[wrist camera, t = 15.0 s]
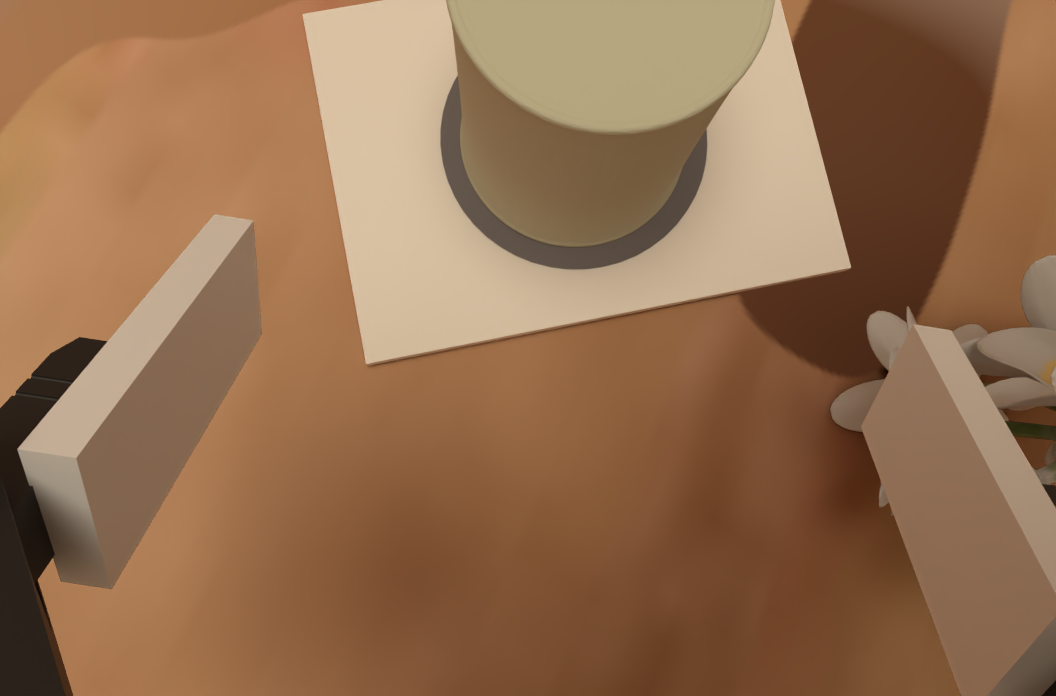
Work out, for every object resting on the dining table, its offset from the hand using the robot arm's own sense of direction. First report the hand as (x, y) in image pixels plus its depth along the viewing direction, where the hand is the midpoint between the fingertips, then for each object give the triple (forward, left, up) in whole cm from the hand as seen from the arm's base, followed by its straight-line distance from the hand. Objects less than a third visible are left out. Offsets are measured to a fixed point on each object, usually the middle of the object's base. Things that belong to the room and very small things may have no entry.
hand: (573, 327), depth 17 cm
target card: (-4, -10, -16) cm, 20 cm away
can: (-4, -10, -16) cm, 19 cm away
